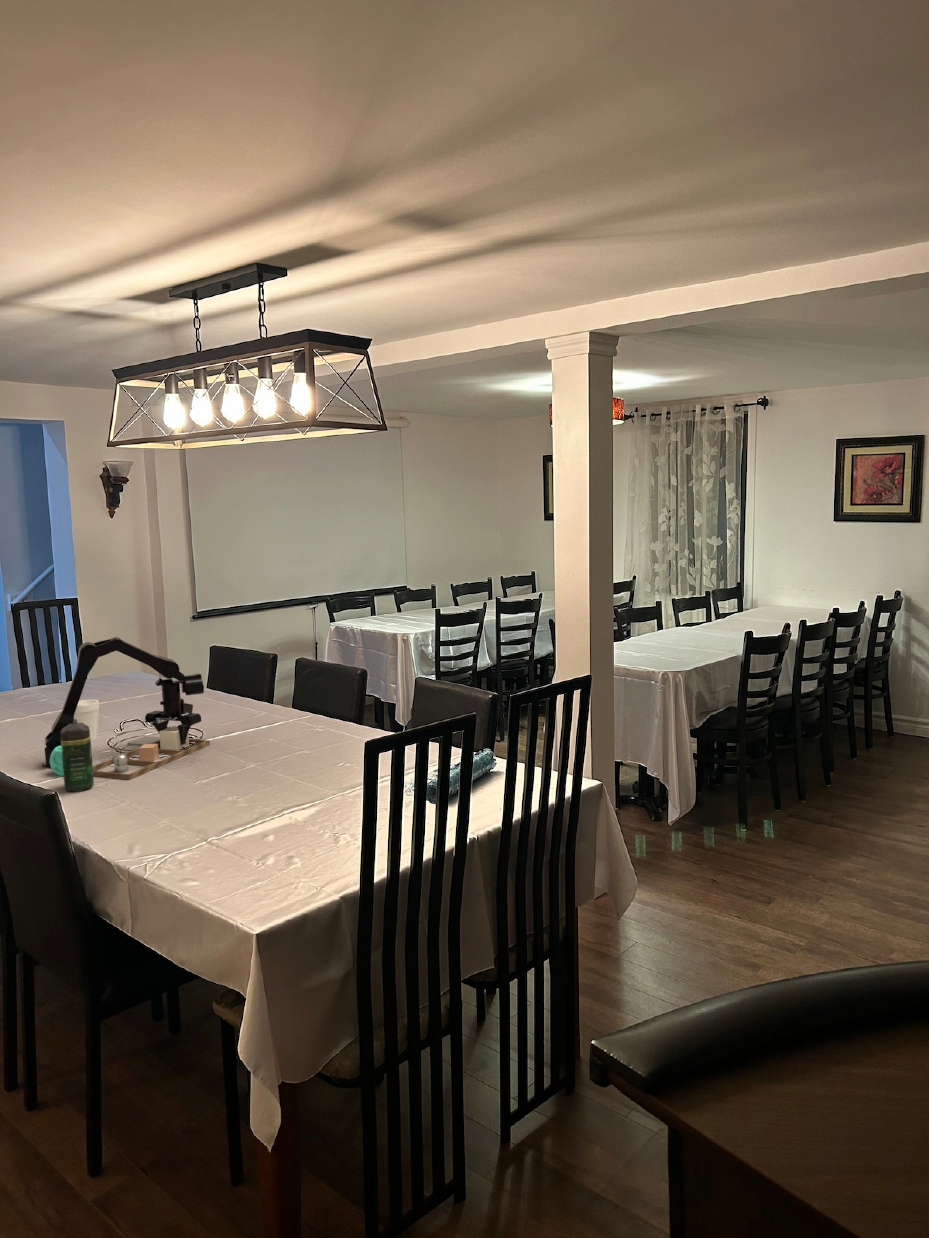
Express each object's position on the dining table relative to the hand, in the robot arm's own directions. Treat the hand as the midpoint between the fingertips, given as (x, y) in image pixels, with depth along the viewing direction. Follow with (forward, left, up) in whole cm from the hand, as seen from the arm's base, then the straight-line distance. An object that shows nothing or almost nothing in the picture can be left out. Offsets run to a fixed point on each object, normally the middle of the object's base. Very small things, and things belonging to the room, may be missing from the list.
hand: (174, 742), depth 301 cm
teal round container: (-31, +15, -2) cm, 34 cm away
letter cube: (0, 0, -2) cm, 2 cm away
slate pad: (+4, +15, -2) cm, 16 cm away
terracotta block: (-13, 0, -2) cm, 13 cm away
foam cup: (+2, +39, -2) cm, 39 cm away
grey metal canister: (-26, 0, -2) cm, 26 cm away
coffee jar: (-42, +1, -2) cm, 42 cm away
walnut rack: (-13, 0, -2) cm, 13 cm away
